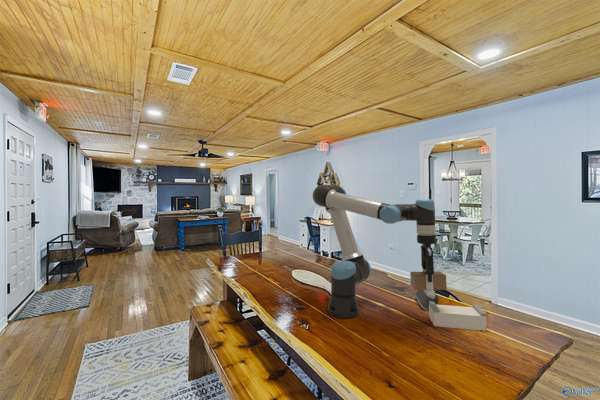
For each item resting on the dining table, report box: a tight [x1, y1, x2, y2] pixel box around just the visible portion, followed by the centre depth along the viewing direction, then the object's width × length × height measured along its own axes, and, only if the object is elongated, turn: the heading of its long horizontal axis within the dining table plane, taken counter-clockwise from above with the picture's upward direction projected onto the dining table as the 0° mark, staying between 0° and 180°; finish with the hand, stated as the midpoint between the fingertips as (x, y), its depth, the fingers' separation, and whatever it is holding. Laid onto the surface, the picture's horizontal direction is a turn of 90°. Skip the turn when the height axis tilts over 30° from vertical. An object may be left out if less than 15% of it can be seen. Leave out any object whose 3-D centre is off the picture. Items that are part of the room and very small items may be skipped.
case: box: [409, 270, 448, 291], centre depth 118 cm, size 13×6×6 cm, turn 84°
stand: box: [428, 301, 488, 332], centre depth 117 cm, size 20×9×7 cm, turn 77°
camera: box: [414, 290, 440, 311], centre depth 137 cm, size 9×16×10 cm, turn 170°
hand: (427, 286), depth 118 cm, fingers closed on case, 6 cm apart
